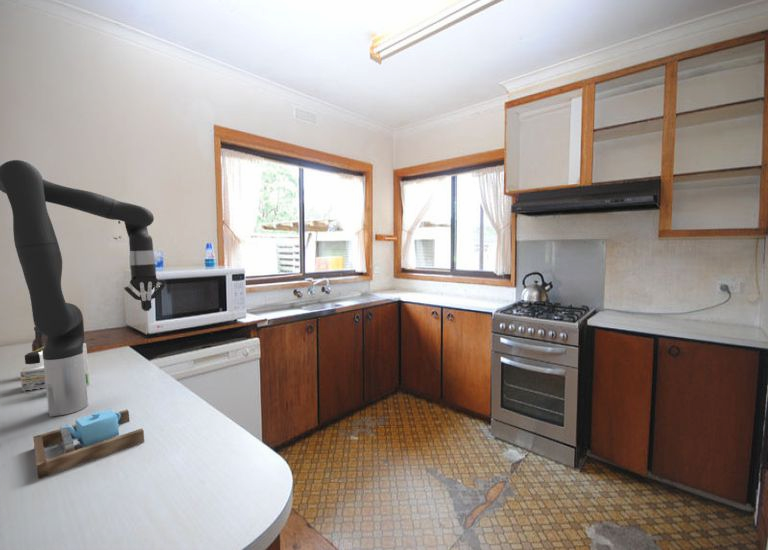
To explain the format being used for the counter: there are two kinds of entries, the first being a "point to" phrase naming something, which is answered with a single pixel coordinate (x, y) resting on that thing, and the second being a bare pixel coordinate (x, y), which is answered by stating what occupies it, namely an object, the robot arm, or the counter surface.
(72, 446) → the stop plate
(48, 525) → the counter surface
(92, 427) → the teapot
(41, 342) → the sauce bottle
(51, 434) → the bracket
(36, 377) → the container
